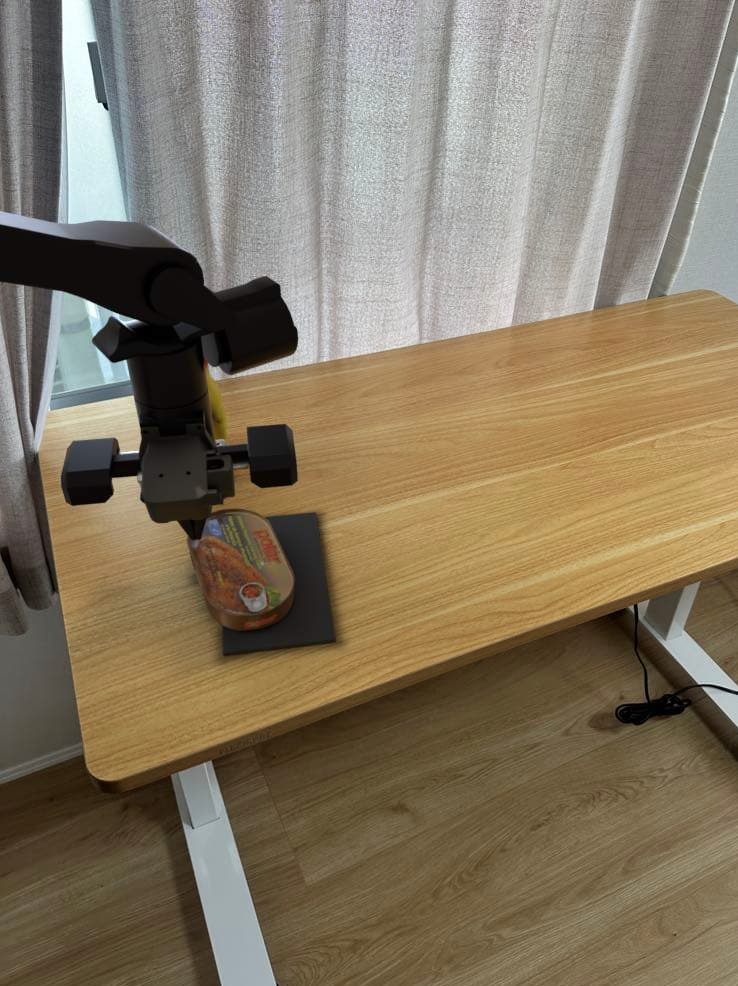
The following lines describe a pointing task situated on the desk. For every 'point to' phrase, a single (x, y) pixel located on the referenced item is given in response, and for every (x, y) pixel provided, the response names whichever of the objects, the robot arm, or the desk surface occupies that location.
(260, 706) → the desk surface
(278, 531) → the mat
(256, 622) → the tin
